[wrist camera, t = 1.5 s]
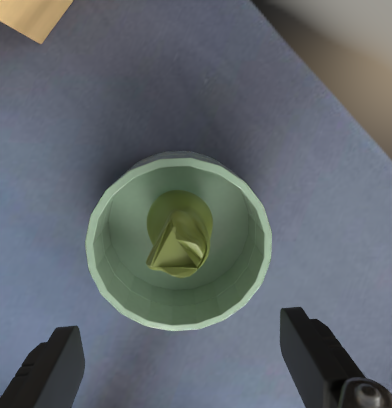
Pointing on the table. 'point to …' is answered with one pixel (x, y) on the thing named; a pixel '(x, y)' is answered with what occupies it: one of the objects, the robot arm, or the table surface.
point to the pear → (179, 233)
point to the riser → (33, 16)
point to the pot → (141, 245)
